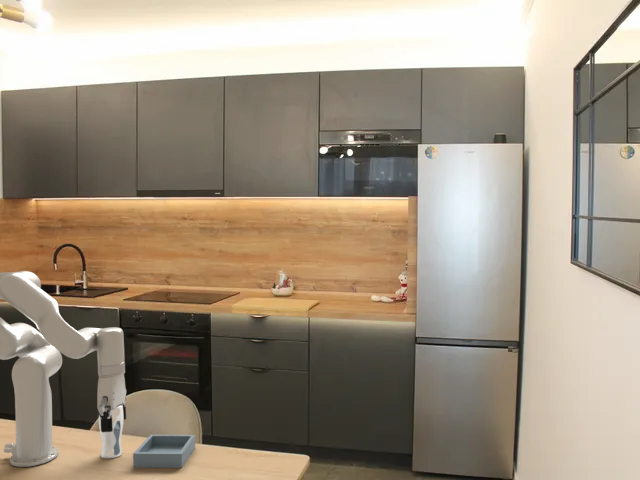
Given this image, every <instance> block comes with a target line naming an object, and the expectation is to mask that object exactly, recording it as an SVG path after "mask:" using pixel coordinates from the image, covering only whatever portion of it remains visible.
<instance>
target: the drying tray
mask: <svg viewBox="0 0 640 480" xmlns="http://www.w3.org/2000/svg"><path fill="white" fill-rule="evenodd" d="M195 449H196V435H195V434H149V436H148V437H147V438H146V439H145V440H144V441H143V443H142V444H140V446H139V447H138V448H137V449H135V451H134V452H133V454H132V456H133V457H132V458H133V459H132V460H133V462H132V465H133V467H132V468H135V469H136V468H137V469H139V468H145V469H146V468H151V469H152V468H153V469H155V468H156V469H158V468H159V469H160V468H162V469H165V468H167V469H169V468H170V469H182V468H183V467H184V466H185V464H186V462H187V461H188V459H189V458H190V457H191V455H192V454H193V452H194V451H195Z"/></svg>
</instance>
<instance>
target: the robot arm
mask: <svg viewBox="0 0 640 480" xmlns="http://www.w3.org/2000/svg"><path fill="white" fill-rule="evenodd" d="M0 300H4V301H5V302H7V303H8V304H10V305H11V306H12V307H13V308H15V309H16V310H17V311H19V312H20V313H21V314H23V315H24V316H25V317H26V318H27V319H29V320H30V321H31V322H33V323H34V324H35V326H36V328H35V327H33V326H32V325H30V324H27V323H24V322H15V323H11V324H9V323H8V322H6V321H5V319H3V318H2V317H1V316H0V360H2V361H4V360H10V359H12V358H15V357H18V359H17V360H16V361H15V362H14V365H13V366H12V369H11V380H12V384H13V389H14V406H15V407H14V408H15V443H13V442H7V443H5V445H4V449H3V453H5V454H8V453H11V456H10V457H9V464H10V465H11V466H14V467H16V468H17V467H18V468H26V467H27V468H28V467H35V466H38V465H43V464H46V463H47V462H50V461H52V460H54V459H55V458H56V457H58V455H59V449H58V448H57V447H55V446H53V404H52V403H53V401H52V399H53V397H52V396H53V395H52V389H51V383H50V377H52V376H53V375H55V374H56V373H58V371H59V370H60V369H61V367H62V365H63V356H62V354H63V355H64V356H65V357H67V358H70V359H74V360H75V359H76V360H78V359H81V358H84V357H86V356H87V355H88V354H90V353H93V352H95V351H96V353H97V354H96V355H97V374H98V381H97V394H96V396H97V397H96V398H97V399H96V400H97V403H96V404H97V411H98V417H99V416H100V419H101V432H112V431H113V426H112V418H111V414H112V410H114V409H115V408H116V407H118V406H119V405H120V404H121V403H123V414H124V420H126V419H127V410H126V409H127V408H126V406H127V403H126V401H127V389H126V380H125V379H126V378H125V373H126V362H125V360H126V359H125V342H124V341H125V340H124V335H125V334H124V331H123V329H122V328H121V327H116V326H113V327H104V328H101V327H100V328H98V327H83V328H81V329H79V330H76V329H75V328H74V327H73V326H71V325H70V324H69V323H68V322H66V320H64V318H63V317H62V316H61V314H60V310H59V303H58V301H57V300H56V299H55V298H54V297H52V296H51V295H50V294H49V293H47V292H46V291H44V289H42V283H41V280H40V278H39V276H38V275H36V274H35V273H34V272H32V271H29V270H28V271H27V270H22V271H14V272H13V271H10V272H9V271H8V272H0ZM105 407H108V408H105ZM106 411H109V412H108V413H107V412H106Z"/></svg>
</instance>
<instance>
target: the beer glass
mask: <svg viewBox="0 0 640 480" xmlns="http://www.w3.org/2000/svg"><path fill="white" fill-rule="evenodd" d="M105 408H108V407H105ZM106 412H107V413H108V412H109V411H106ZM111 418H112V426H113V431H112V432H101V419H100V416H99V415H98V427H99V432H100V433H99V434H100V439H101V452H100V457H101V458H102V459H104V460H105V459H106V460H107V459H108V460H110V459H115V458H118V457H120V456H122V454H123V448H122V434H123V429H124V414H123V403H121V404H120V405H119V406H118V407H116V408H115V409H114V410H112V414H111Z"/></svg>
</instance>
